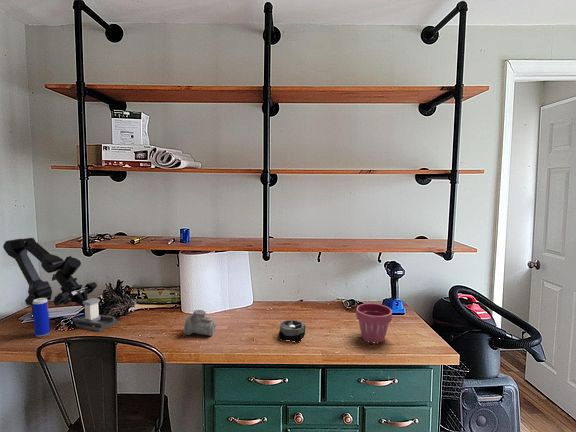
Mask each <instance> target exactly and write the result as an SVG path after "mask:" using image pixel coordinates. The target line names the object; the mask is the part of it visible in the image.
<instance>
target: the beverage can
mask: <svg viewBox="0 0 576 432" xmlns="http://www.w3.org/2000/svg"><path fill="white" fill-rule="evenodd" d="M33 317H34V318H33V325H34V326H33V327H34V335H35V337H39V338H40V337H41V338H42V337H45V336H48V335H49V333H50V332H51V331H50V329H51V328H50V314H49V300H47V298H38V299H35V300H33Z"/></svg>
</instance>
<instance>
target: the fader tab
mask: <svg viewBox="0 0 576 432" xmlns="http://www.w3.org/2000/svg"><path fill="white" fill-rule="evenodd" d="M100 300H101V299H100V298H95V297H92V298H89V299H88V300H86V301H84V302H83V305H85V308H84V317H85V318H84V319H85V320H91V321H98V320H100V319H101V316H99V315H100V312H99V311H100V310H99V303H100Z"/></svg>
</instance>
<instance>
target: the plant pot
mask: <svg viewBox="0 0 576 432" xmlns="http://www.w3.org/2000/svg"><path fill="white" fill-rule="evenodd" d="M355 310H356V311H355V312H356V313H355V315H356V319H357V320H358V324H359V329H360V334H361V338H363V339H364V340H366V341H369V342H375V343H374V344H378V343H377V342H381V343H383V342H385V337H386V335H387V332H388V327H389V324H390V323H391V322H392V319H393V310H392V309H391V308H390V307H389V306H387V305H384V304H380V303H373V302H369V303H367V302H366V303H362V304H359V305H358V306H356V309H355ZM363 339H362V340H363ZM364 340H363V341H364ZM366 341H365V342H366ZM382 341H383V342H382ZM369 342H368V343H369Z"/></svg>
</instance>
